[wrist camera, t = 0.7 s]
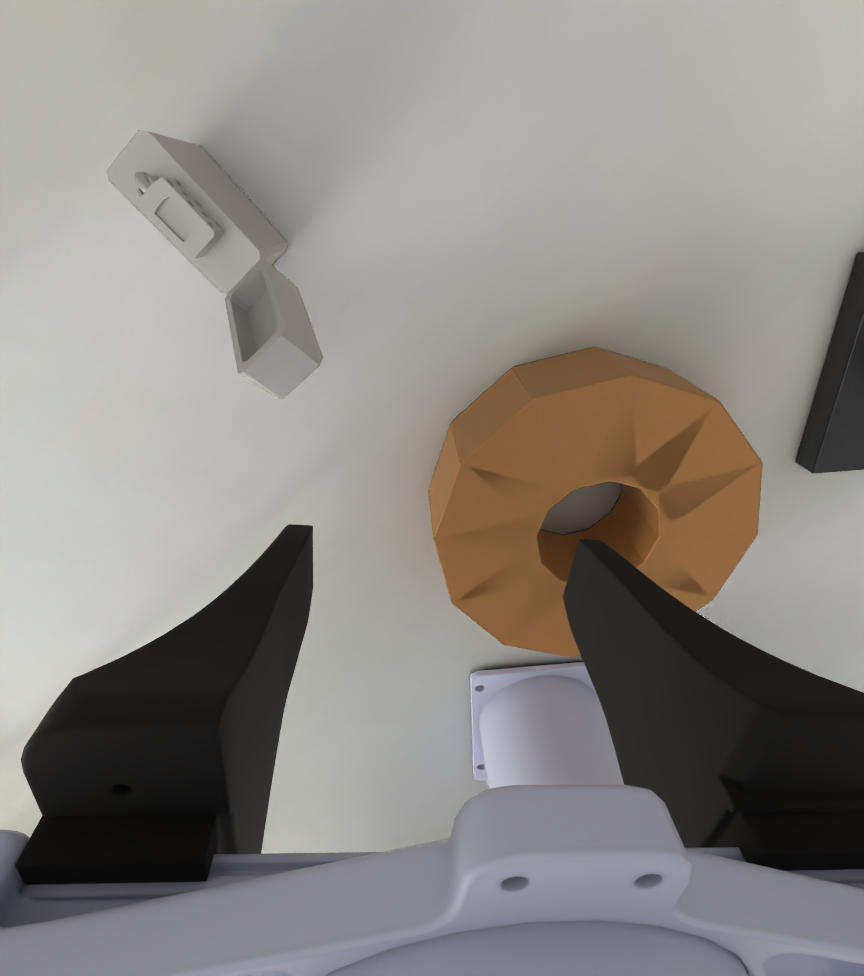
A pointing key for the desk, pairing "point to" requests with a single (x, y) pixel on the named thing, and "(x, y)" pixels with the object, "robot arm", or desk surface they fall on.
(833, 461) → the stand
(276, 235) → the lighter
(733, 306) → the desk surface
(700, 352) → the desk surface
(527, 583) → the tape roll
